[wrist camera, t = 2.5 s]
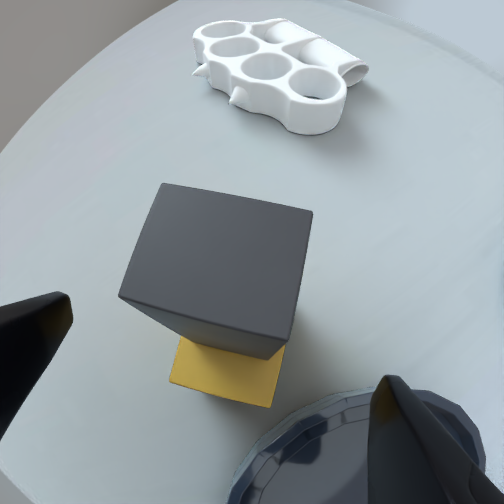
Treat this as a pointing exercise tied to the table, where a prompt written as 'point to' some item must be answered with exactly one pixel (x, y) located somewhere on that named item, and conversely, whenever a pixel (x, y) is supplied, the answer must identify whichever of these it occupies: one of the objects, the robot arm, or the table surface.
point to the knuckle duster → (278, 71)
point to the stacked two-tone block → (221, 286)
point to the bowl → (331, 451)
